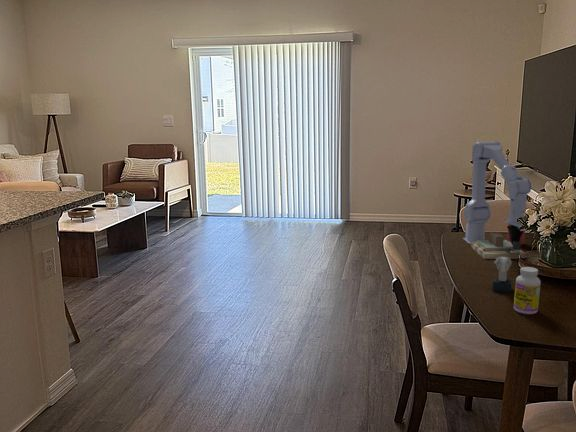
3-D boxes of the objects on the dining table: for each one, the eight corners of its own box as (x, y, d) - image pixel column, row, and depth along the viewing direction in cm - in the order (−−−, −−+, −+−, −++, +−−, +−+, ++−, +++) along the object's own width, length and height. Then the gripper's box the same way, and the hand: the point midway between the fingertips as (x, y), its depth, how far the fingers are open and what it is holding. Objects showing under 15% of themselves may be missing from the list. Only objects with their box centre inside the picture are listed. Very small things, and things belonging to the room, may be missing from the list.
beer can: (520, 241, 235) (523, 214, 233) (525, 245, 229) (528, 218, 226) (505, 241, 236) (507, 214, 233) (509, 245, 230) (511, 218, 227)
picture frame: (470, 246, 230) (471, 237, 229) (509, 246, 229) (509, 237, 228) (483, 258, 212) (484, 248, 211) (525, 258, 211) (526, 248, 210)
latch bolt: (509, 248, 213) (509, 238, 212) (515, 248, 213) (516, 238, 212) (513, 252, 208) (514, 241, 207) (520, 252, 208) (520, 241, 207)
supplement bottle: (509, 310, 160) (512, 269, 158) (519, 304, 165) (522, 264, 162) (532, 316, 156) (536, 274, 153) (541, 310, 160) (545, 269, 158)
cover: (476, 242, 228) (477, 230, 227) (505, 242, 227) (506, 230, 226) (485, 250, 216) (486, 238, 215) (516, 250, 216) (516, 238, 215)
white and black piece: (510, 286, 181) (513, 254, 178) (510, 294, 173) (513, 261, 171) (492, 284, 183) (494, 253, 180) (492, 292, 175) (494, 260, 173)
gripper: (500, 206, 215) (497, 239, 218) (513, 214, 200) (510, 249, 203) (518, 206, 214) (515, 239, 217) (533, 214, 200) (530, 249, 203)
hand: (514, 244), depth 210 cm, fingers closed
